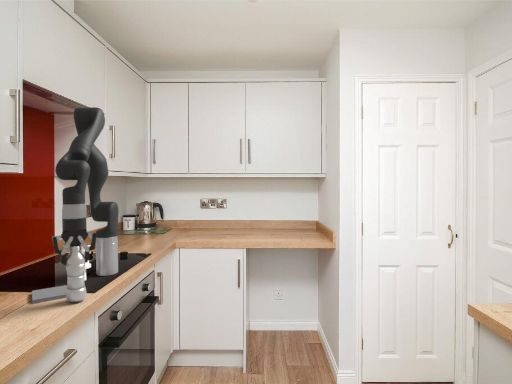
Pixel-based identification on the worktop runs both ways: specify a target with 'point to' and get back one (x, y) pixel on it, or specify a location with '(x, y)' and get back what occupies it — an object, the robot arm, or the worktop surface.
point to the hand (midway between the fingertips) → (75, 263)
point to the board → (49, 294)
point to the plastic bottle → (75, 274)
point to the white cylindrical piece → (87, 264)
